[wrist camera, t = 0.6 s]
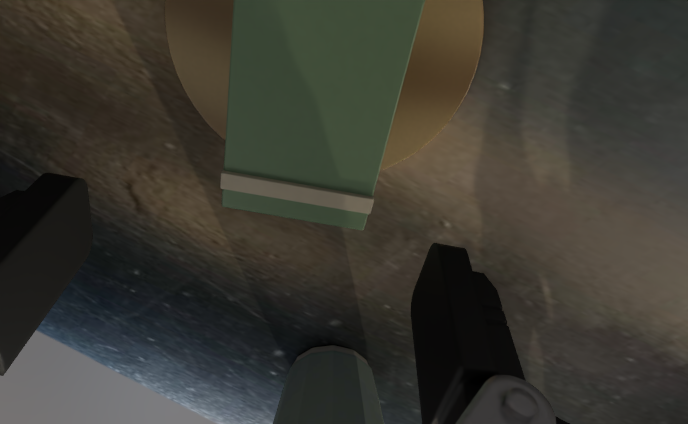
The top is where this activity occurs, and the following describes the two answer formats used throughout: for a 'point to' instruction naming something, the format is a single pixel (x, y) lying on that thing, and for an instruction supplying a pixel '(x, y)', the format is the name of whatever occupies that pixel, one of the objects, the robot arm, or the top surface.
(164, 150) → the top surface
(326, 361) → the disposable coffee cup
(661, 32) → the top surface
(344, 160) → the green box
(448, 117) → the turntable
